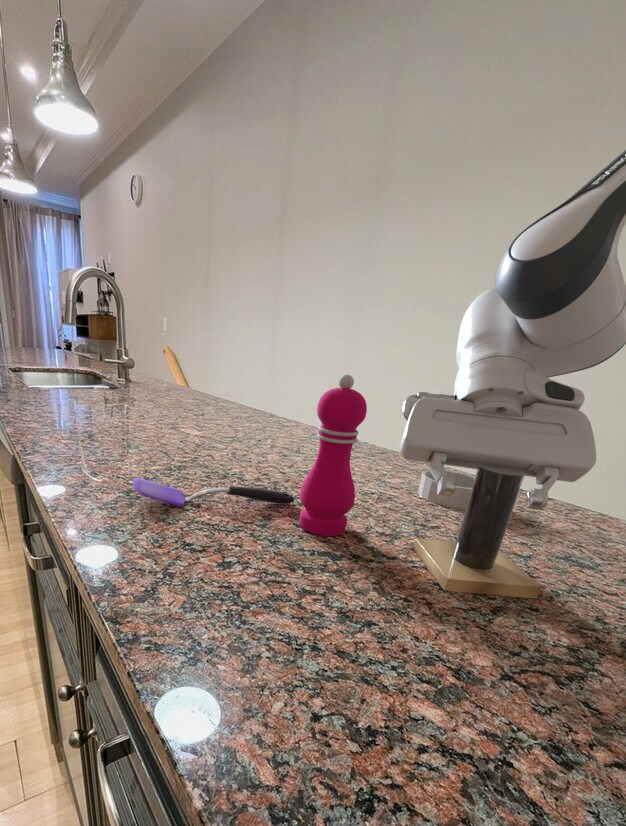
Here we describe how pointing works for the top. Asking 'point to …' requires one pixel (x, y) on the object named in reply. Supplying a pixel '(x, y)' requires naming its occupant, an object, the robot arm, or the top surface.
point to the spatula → (179, 499)
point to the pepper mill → (333, 461)
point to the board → (474, 572)
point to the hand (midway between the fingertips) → (490, 500)
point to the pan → (455, 501)
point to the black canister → (487, 515)
